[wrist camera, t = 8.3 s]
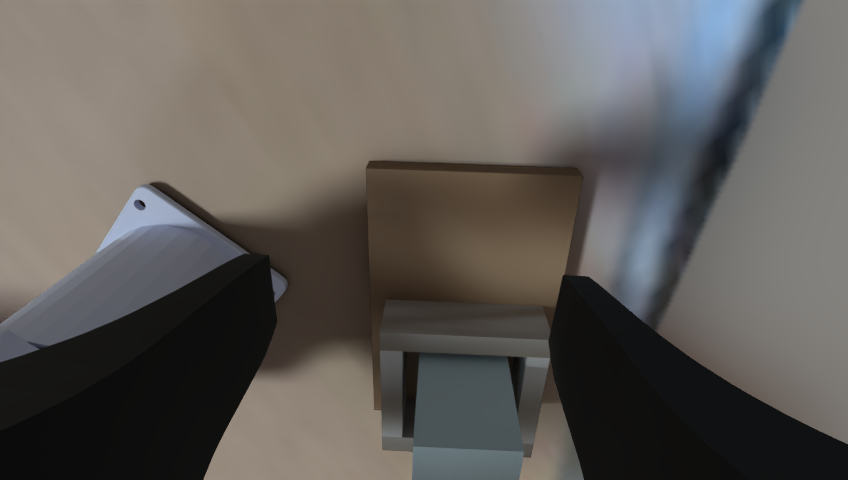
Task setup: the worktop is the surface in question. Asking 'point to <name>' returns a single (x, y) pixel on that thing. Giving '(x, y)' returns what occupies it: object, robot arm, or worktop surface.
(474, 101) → the worktop surface
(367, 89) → the worktop surface
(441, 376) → the peg
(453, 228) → the board
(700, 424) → the robot arm
